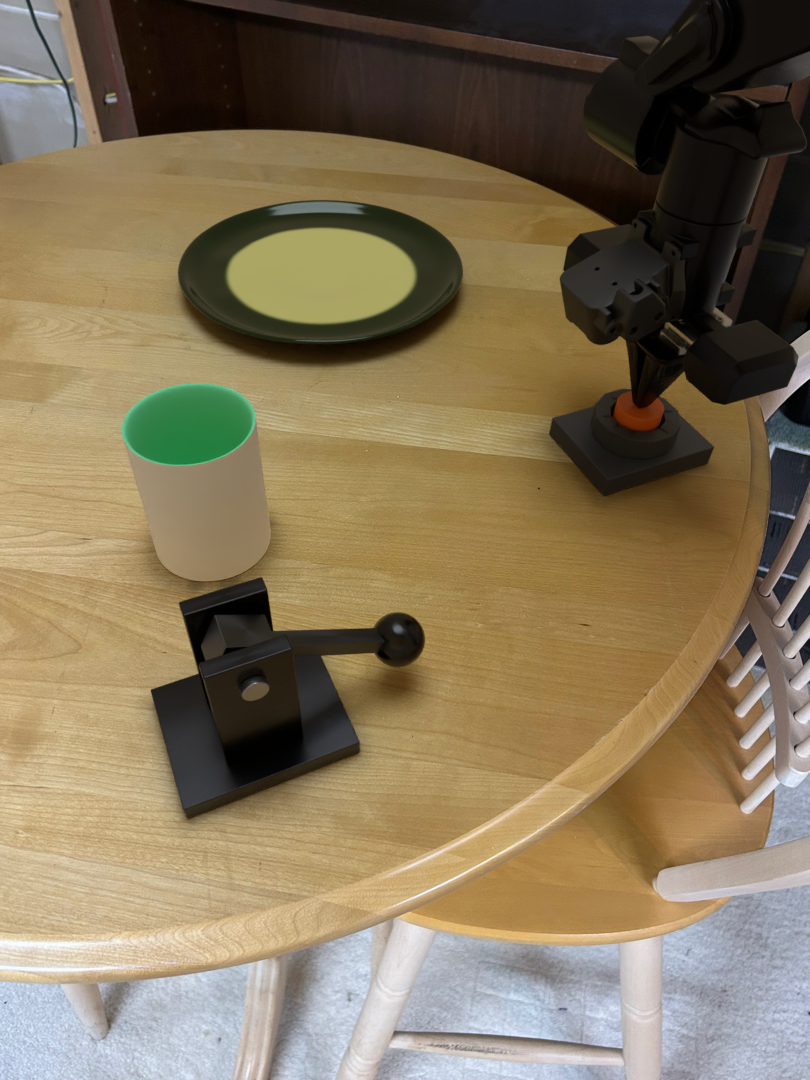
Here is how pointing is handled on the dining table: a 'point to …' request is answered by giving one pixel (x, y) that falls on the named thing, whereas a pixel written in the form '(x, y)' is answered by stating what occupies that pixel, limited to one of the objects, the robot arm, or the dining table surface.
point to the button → (637, 414)
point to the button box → (628, 445)
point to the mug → (200, 479)
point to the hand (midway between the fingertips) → (640, 404)
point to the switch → (247, 710)
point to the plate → (320, 272)
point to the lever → (321, 638)
